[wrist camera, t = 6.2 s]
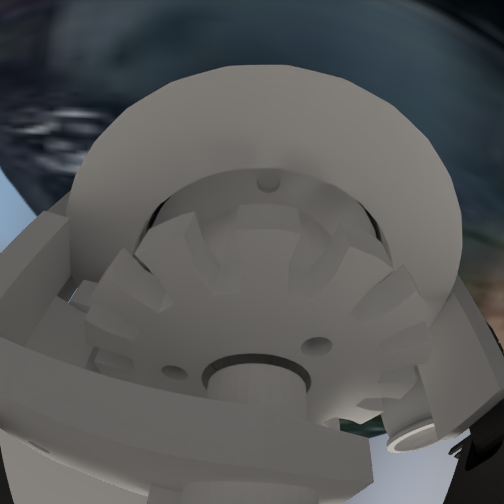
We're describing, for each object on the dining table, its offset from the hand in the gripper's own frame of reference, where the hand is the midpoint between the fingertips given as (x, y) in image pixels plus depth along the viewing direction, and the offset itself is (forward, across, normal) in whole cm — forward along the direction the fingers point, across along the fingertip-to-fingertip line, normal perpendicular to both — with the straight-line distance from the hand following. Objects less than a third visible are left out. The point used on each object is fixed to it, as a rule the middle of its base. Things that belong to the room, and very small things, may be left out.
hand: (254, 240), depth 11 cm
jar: (+18, +26, -27) cm, 42 cm away
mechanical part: (+2, 0, 0) cm, 2 cm away
